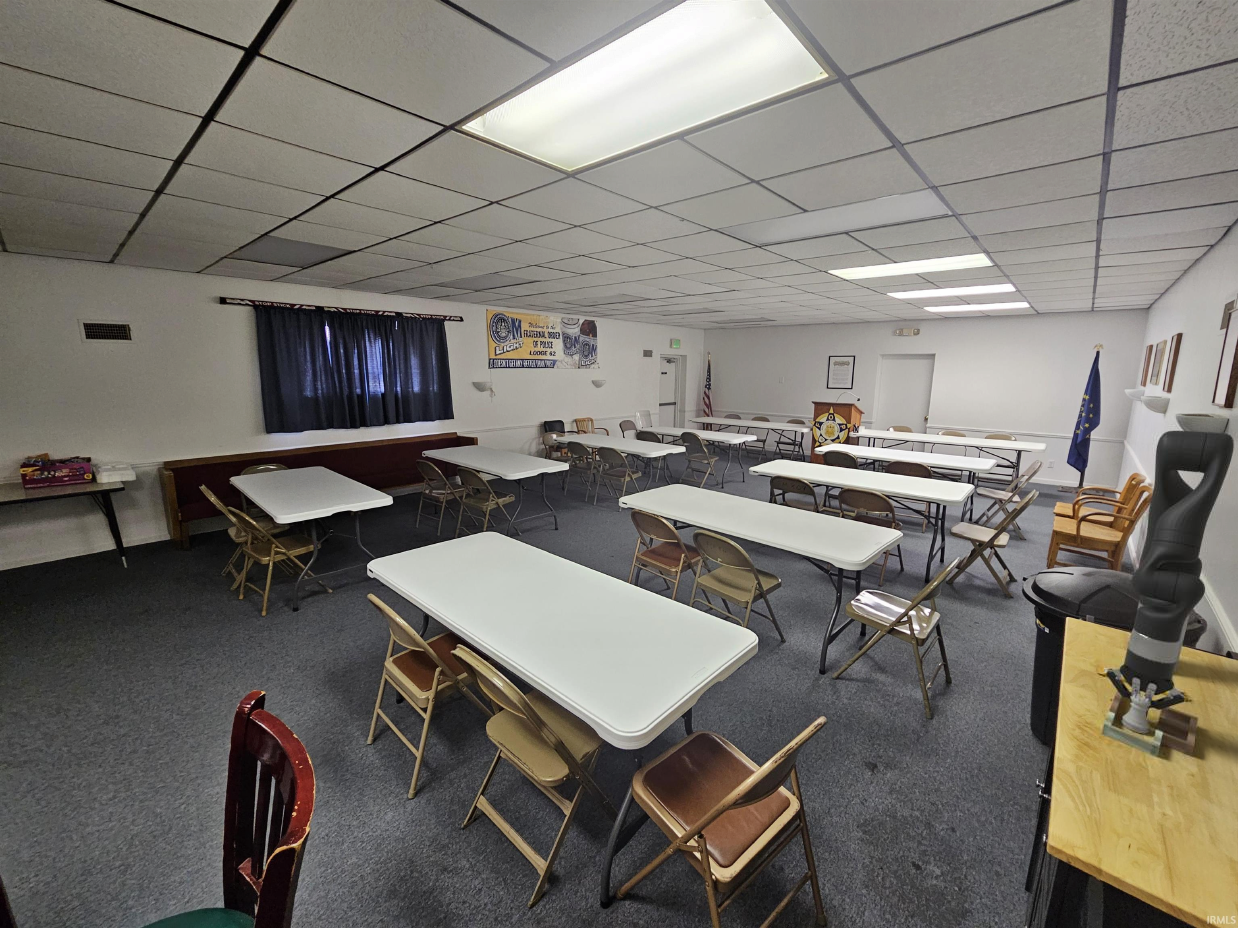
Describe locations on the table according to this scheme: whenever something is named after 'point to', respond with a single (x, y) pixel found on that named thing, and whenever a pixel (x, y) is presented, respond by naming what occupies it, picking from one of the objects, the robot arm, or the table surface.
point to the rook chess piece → (1137, 714)
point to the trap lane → (1174, 726)
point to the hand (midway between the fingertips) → (1136, 717)
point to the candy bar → (1104, 671)
